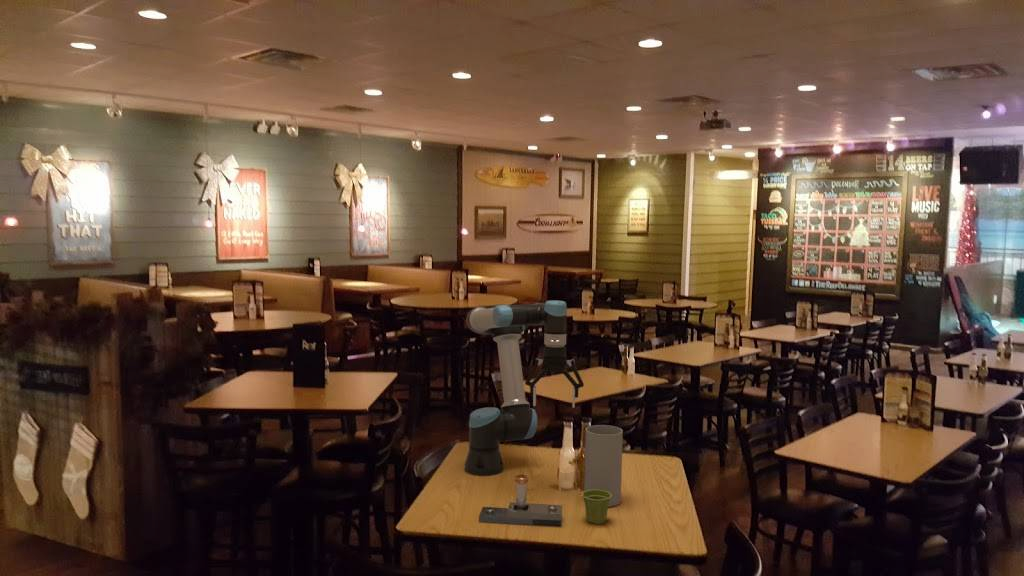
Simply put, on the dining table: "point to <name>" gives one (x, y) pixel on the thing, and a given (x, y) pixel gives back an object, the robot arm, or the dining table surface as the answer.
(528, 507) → the stand base plate
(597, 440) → the cylinder vase
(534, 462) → the dining table surface
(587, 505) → the plant pot
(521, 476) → the pin
